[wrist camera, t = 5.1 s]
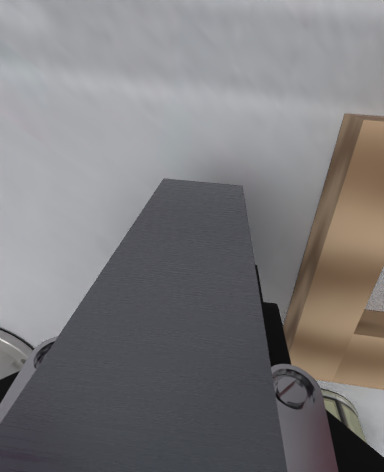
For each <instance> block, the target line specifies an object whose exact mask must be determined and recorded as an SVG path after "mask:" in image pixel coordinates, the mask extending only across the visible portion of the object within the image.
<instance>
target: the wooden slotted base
mask: <svg viewBox="0 0 384 472" xmlns="http://www.w3.org/2000/svg"><path fill="white" fill-rule="evenodd" d="M383 266H384V117H381V116H368V115H356V114H345V115H344V118H343V122H342V125H341V129H340V132H339V136H338V139H337V143H336V146H335V150H334V153H333V157H332V160H331V163H330V167H329V170H328V174H327V177H326V181H325V184H324V188H323V191H322V195H321V198H320V202H319V205H318V209H317V212H316V216H315V219H314V223H313V226H312V229H311V233H310V236H309V240H308V243H307V247H306V250H305V254H304V257H303V261H302V264H301V268H300V271H299V275H298V278H297V282H296V285H295V289H294V292H293V295H292V299H291V302H290V306H289V309H288V313H287V316H286V320H285V323H284V327H283V330H284V334H285V339H286V343H287V347H288V352H289V356H290V360H291V365H293V366H296V367H299V368H301V369H302V370H304V371H306V372H307V373H308V374H310V375H311V376H312V377H313V378H314V379H315V380H322V381H328V382H335V383H342V384H348V385H355V386H362V387H368V388H375V389H381V390H384V312H379V311H372V310H364V309H365V307H366V304H367V302H368V300H369V298H370V295H371V293H372V291H373V289H374V287H375V284H376V282H377V280H378V278H379V275H380V273H381V271H382V269H383Z"/></svg>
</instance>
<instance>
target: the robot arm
mask: <svg viewBox="0 0 384 472" xmlns="http://www.w3.org/2000/svg"><path fill="white" fill-rule="evenodd" d="M255 269H256V276H257V282H258V288H259V294H260V301H261V307H262V313H263V320H264V326H265V332H266V339H267V345H268V351H269V358H270V364H271V370H272V377H273V383H274V389H275V396H276V402H277V408H278V415H279V421H280V427H281V434H282V440H283V446H284V453H285V459H286V465H287V472H384V457H382V456H381V455H380V454H379V453H378V452H376V451H375V450H374V449H373V448H372V447H370V446H369V445H368V444H367V443H366V442H365V441H363V440H362V439H361V438H360V437H359V436H357V435H356V434H355V433H354V432H353V431H351V430H350V429H349V428H348V427H347V426H345V425H344V424H343V423H342V422H341V421H340V420H338V419H337V418H336V417H335V416H334V415H332V414H331V413H330V412H329V411H328V410H326V409H325V404H324V399H323V394H322V391H321V389H320V386H319V385H318V383H317V382H316V381H315V379H314V378H313V377H312V376H311V375H310V374H308V373H307V372H306V371H304V370H302V369H301V368H299V367H296V366H293V365H291V360H290V356H289V352H288V347H287V343H286V339H285V334H284V330H283V326H282V321H281V317H280V313H279V309H278V305H277V304H275V303H267V302H263V298H262V293H261V287H260V281H259V275H258V269H257V265H255ZM57 338H58V337H54V338H50V339H48V340H46V341H44V342H42V343H41V344H40V345H38V346H37V347H36V348H35V349H34V350H32V349H31V348H30V347H29V346H27V345H26V344H25V343H23V342H22V341H21V340H19V339H17V338H16V337H14V336H12V335H11V334H8V333H6V332H4V331H2V330H0V423H1V422H2V420H3V419H4V417H5V416H6V414H7V413H8V411H9V410H10V408H11V407H12V405H13V404H14V402H15V401H16V399H17V398H18V396H19V395H20V393H21V392H22V390H23V389H24V387H25V386H26V384H27V383H28V381H29V380H30V378H31V377H32V375H33V374H34V372H35V371H36V369H37V368H38V366H39V365H40V363H41V362H42V360H43V359H44V357H45V356H46V354H47V353H48V351H49V350H50V348H51V347H52V345H53V344H54V342H55V341H56V339H57Z"/></svg>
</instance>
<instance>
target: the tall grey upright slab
mask: <svg viewBox="0 0 384 472" xmlns="http://www.w3.org/2000/svg"><path fill="white" fill-rule="evenodd" d="M0 472H287V465H286V459H285V453H284V446H283V440H282V434H281V427H280V421H279V415H278V408H277V402H276V396H275V389H274V383H273V377H272V370H271V364H270V358H269V351H268V345H267V339H266V332H265V326H264V320H263V313H262V307H261V301H260V294H259V288H258V282H257V276H256V269H255V263H254V257H253V250H252V244H251V238H250V231H249V225H248V219H247V212H246V206H245V200H244V193H243V187H242V186H237V185H227V184H216V183H206V182H195V181H185V180H174V179H163V180H162V182H161V183H160V185H159V186H158V188H157V189H156V191H155V192H154V194H153V195H152V197H151V198H150V200H149V201H148V203H147V204H146V206H145V207H144V209H143V210H142V212H141V213H140V215H139V216H138V218H137V219H136V221H135V222H134V224H133V225H132V227H131V228H130V230H129V231H128V233H127V234H126V236H125V237H124V239H123V240H122V242H121V243H120V245H119V246H118V248H117V249H116V251H115V252H114V254H113V255H112V257H111V258H110V260H109V261H108V263H107V264H106V266H105V267H104V269H103V270H102V272H101V273H100V275H99V276H98V278H97V279H96V281H95V282H94V284H93V285H92V287H91V288H90V290H89V291H88V293H87V294H86V296H85V297H84V299H83V300H82V302H81V303H80V305H79V306H78V308H77V309H76V311H75V312H74V314H73V315H72V317H71V318H70V320H69V321H68V323H67V324H66V326H65V327H64V329H63V330H62V332H61V333H60V335H59V336H58V338H57V339H56V341H55V342H54V344H53V345H52V347H51V348H50V350H49V351H48V353H47V354H46V356H45V357H44V359H43V360H42V362H41V363H40V365H39V366H38V368H37V369H36V371H35V372H34V374H33V375H32V377H31V378H30V380H29V381H28V383H27V384H26V386H25V387H24V389H23V390H22V392H21V393H20V395H19V396H18V398H17V399H16V401H15V402H14V404H13V405H12V407H11V408H10V410H9V411H8V413H7V414H6V416H5V417H4V419H3V420H2V422H1V423H0Z"/></svg>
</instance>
